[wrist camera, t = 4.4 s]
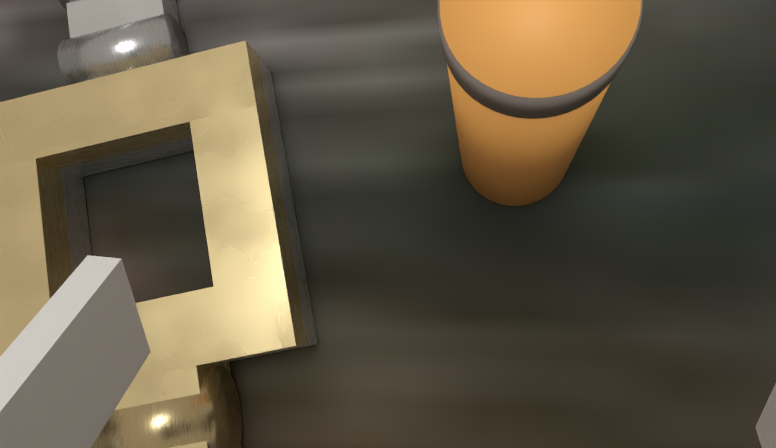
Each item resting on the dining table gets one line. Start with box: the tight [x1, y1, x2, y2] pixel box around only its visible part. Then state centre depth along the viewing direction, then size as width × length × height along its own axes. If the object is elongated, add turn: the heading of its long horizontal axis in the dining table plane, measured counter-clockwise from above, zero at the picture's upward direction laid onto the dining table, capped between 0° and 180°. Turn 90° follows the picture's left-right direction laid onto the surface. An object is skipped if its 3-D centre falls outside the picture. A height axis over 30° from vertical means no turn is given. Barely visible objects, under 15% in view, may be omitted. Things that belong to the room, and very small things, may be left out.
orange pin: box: [438, 0, 643, 206], centre depth 20 cm, size 4×4×12 cm
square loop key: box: [0, 0, 318, 448], centre depth 25 cm, size 11×25×3 cm, turn 11°
